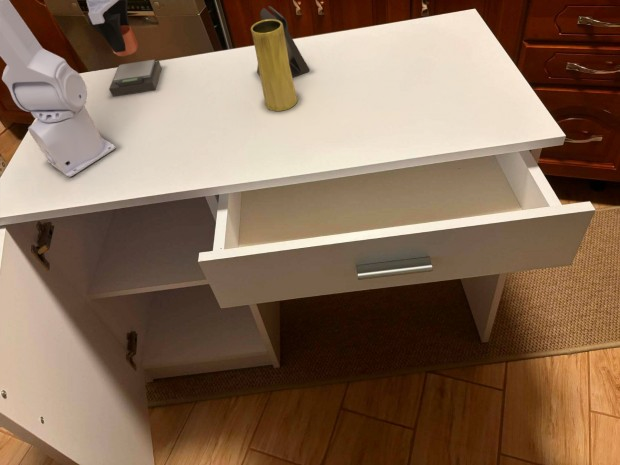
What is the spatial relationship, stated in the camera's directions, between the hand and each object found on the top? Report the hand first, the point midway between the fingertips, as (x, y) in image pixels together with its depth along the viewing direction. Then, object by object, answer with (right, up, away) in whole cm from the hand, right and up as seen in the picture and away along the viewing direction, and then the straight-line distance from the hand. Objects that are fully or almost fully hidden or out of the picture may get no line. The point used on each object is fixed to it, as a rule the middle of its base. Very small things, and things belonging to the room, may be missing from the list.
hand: (123, 44), depth 95 cm
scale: (+1, -6, +6) cm, 8 cm away
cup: (0, -1, +1) cm, 1 cm away
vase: (+32, -13, -6) cm, 35 cm away
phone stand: (+32, -6, +1) cm, 32 cm away
